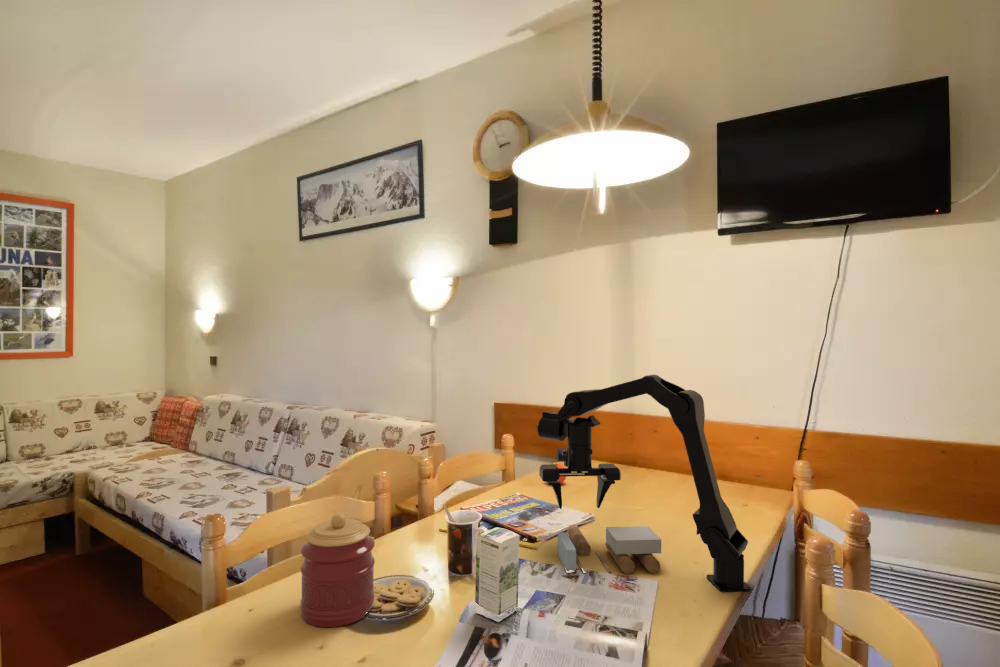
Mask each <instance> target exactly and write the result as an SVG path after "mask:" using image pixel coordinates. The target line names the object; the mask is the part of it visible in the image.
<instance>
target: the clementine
mask: <svg viewBox="0 0 1000 667" xmlns="http://www.w3.org/2000/svg"><path fill="white" fill-rule="evenodd" d="M551 464H556V466H557V467H558V468H565V466H564V465H562V464H560V463H558V462H554V463H553V462H552V463H551ZM566 478H567V476H560V478H559V479H558V480H559V481H560V483H561V484H563V483H564V482H565V481H566Z"/></svg>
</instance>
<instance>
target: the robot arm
mask: <svg viewBox="0 0 1000 667" xmlns="http://www.w3.org/2000/svg"><path fill="white" fill-rule="evenodd" d="M646 394H647V395H649V396H650V397H651V398H653V399H654V400H655V402H657V403H659V405H661V406H663V407H664V408H666V409H667V410H668V412H669V414H670V417H671V419H672V421H673V423H674V426H676V428H677V429H678V431H679V432H680V434H681V436H682V438H683V442H684V446H685V450H686V454H687V458H688V461H689V466H690V469H691V473H692V477H693V481H694V485H695V490H696V493H697V497H698V501H699V508H697V509H696V510H695V511H694V513H693V514H692V519H693V520H694V523H695V526H696V535H697V536H698V535H700V538H701V541H702V543H703V544H704V545H707V546H706V547H707V548H708V549H707V550H708V551H709V555H710V557H711V558H712V559H713V560H712V561H713V562H712V564H713V568H712V570H713V573H712V574H706V579H707V580H708V581H710V582H711V584H712V585H714V587H716V589H717V590H719V592H745V591H752V586H750V585H749V584H748V583H747V582H745V559H744V558H745V556H744V554H743V552H744V551H745V550H746V548H747V547H748V544H749V541H748V539H747V538H746V537H745V536H744V534H742V533H741V531H740V530H739V529H738V528H737V523H736V521H735V519H734V517H733V514H732V512H731V510H730V508H729V506H728V505H727V504H726V502H725V501H724V500H723V498H722V495H721V491H720V488H719V484H718V480H717V476H716V473H715V469H714V464H713V461H712V457H711V454H710V449H709V446H708V445H709V444H708V442H707V438H706V435H705V420H706V419H705V417H706V415H705V403H704V398H703V397H702V395H701V394H700V393H698V392H697V391H695V390H692V389H685V388H684V387H682V386H679V385H677V384H675V383H672V382H670V381H667V380H666V379H664V378H662V377H661V376H659V375H657V374H648V375H644V376H643V377H641V378H638V379H634V380H630V381H627V382H622V383H619V384H616V385H612V386H609V387H605V388H604V387H603V388H597V389H584V390H583V389H582V390H577V391H573V392H570V393H567V395H566V396H565V399H564V403H563V404H562V406H561V408H560V409H559V411H558V412H553V411H549V410H545V411H542V412H541V413H542V415H541V418H540V419H539V422H538V425H537V433H538V436H539V438H540V439H545V440H551V441H552V440H553V441H561V442H562V441H564V440H566V438H567V447H566V450H565V448H564V447H563V448H556V456H555V457H556V461H557V462H556V463H563V467H564V468H558V467H557V466H556V464H552V463H551V464H550V463H549V464H546V463H545V464H541V465H540V467H539V477H540V479H541V480H542V482H546V484H547V485H549V486H551V488H552V489H553V492H554V495H555V498H556V502H557V505H558V507H559V509H560V510H562V508H563V497H562V483H560V481H559V480H558V479H559V478H560V476H566V477H596V478H597V491H596V493H597V494H596V508H597V509H600V507H601V505H602V503H603V500H604V498H605V496H606V494H607V493H608V491H609V489H610V487H611V486H612V485H614V484H616V481H621V470H620V468H619V467H617V465H615V464H614V463H599V464H598V467H593V466H592V464H593V462H592V455H593V449H592V447H593V446H592V444H593V442H592V441H593V440H592V438H593V436H592V435H593V434H592V433H593V432H592V431H593V430H592V429H593V428H594V427H597V426H600V425H601V422H600V421H599V420H598V419H597V418H596V416H595V415H594V414H592V415H589V416H588V417H580V416H583V415H587V414H590V413H592V412H594V411H596V410H599V409H601V408H602V407H604V406H606V405H608V404H612V403H615V402H618V401H623V400H627V399H631V398H634V397H639V396H642V395H646ZM575 417H576V418H575ZM571 418H575V419H571Z"/></svg>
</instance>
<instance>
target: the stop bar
mask: <svg viewBox="0 0 1000 667" xmlns="http://www.w3.org/2000/svg"><path fill="white" fill-rule="evenodd" d="M557 555H558V558H559V560H560V562H561V564H562V567H563V568H564V567H565V568H566V570H567V571H569V570H576V571H577V562H576V555H577V549H576V547H575V545H574V544H573V542H572V540H571V538H570V536H569V534H568V532H567V531H565V532H562V531H561V532H559V531H558V533H557Z"/></svg>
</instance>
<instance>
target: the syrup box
mask: <svg viewBox="0 0 1000 667" xmlns="http://www.w3.org/2000/svg"><path fill="white" fill-rule="evenodd" d="M475 540H476V542H475V543H476V544H475V545H476V546H475V547H476V548H475V586H474V587H475V590H474V591H475V592H474V595H475V597H474V603H475V602H476V603H477V604H478V605H479V606H481V607H483V608H484V609H486V610H487V611H489V612H491V613H493V614H496V615H500V614H501V613H503V612H504V611H506V610H507V609H509V608H511V607H518V608H519V576H520V575H519V574H520V573H519V570H520V569H519V568H520V535H519V534H518V533H515V532H514V531H512V530H509V529H507V528H502V527H498V526H497V527H494V528H492V529H489V530H487V531H484V532H482V533H480V534H478V535H476V539H475Z"/></svg>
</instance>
